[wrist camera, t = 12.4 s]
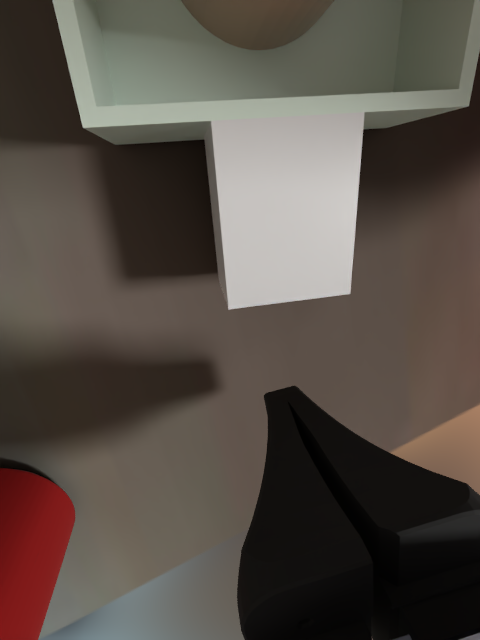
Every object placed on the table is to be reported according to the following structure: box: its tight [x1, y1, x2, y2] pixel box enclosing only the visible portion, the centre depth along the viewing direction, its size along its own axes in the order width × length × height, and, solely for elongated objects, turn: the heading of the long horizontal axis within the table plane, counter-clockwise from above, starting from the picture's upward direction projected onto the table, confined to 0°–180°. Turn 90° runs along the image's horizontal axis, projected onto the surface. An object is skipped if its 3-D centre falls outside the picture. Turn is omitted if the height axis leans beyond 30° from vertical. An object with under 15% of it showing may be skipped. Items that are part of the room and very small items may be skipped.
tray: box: [52, 0, 480, 309], centre depth 9 cm, size 10×15×4 cm, turn 4°
